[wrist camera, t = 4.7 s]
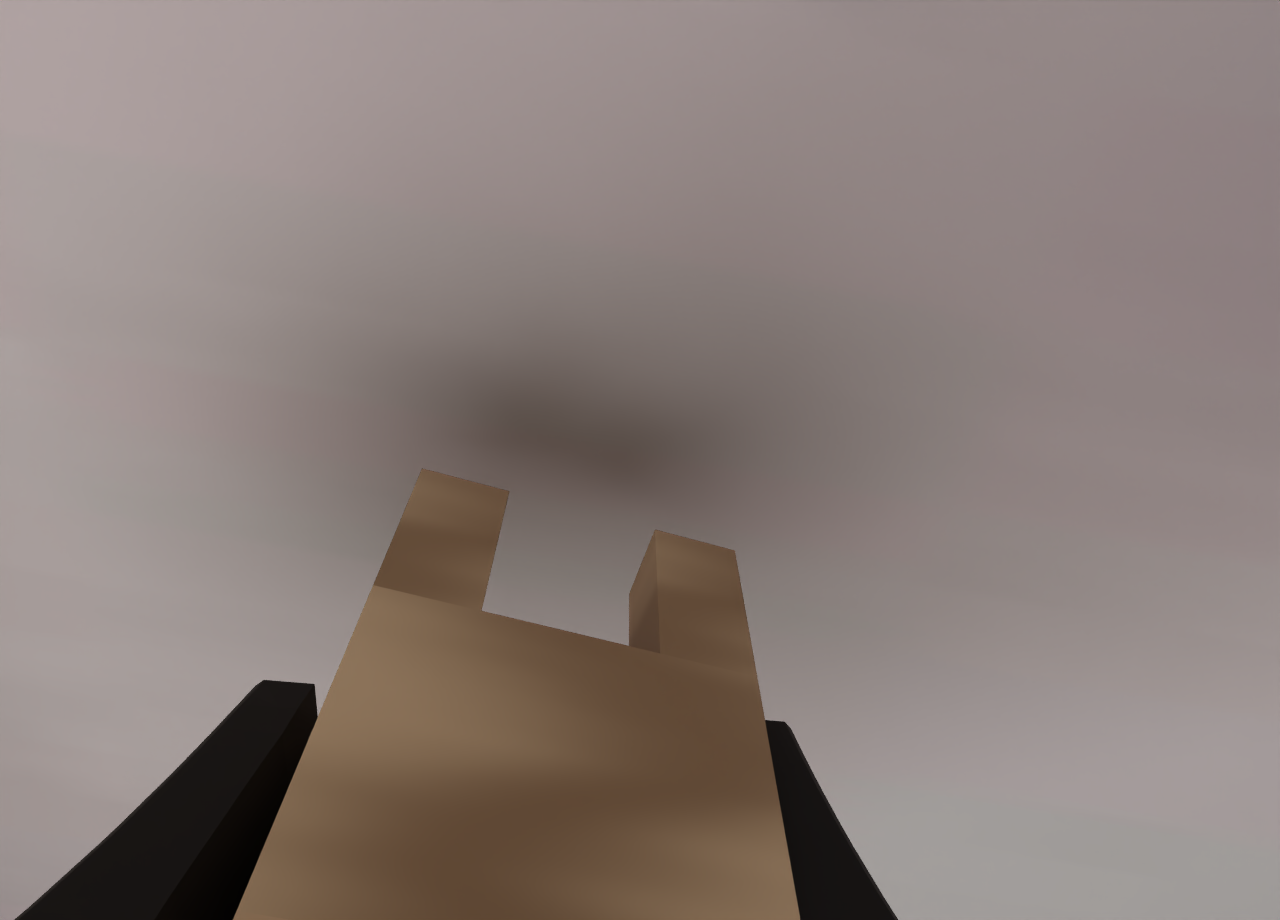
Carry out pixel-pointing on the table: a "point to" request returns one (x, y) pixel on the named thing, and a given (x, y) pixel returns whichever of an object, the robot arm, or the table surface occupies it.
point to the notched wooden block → (532, 749)
